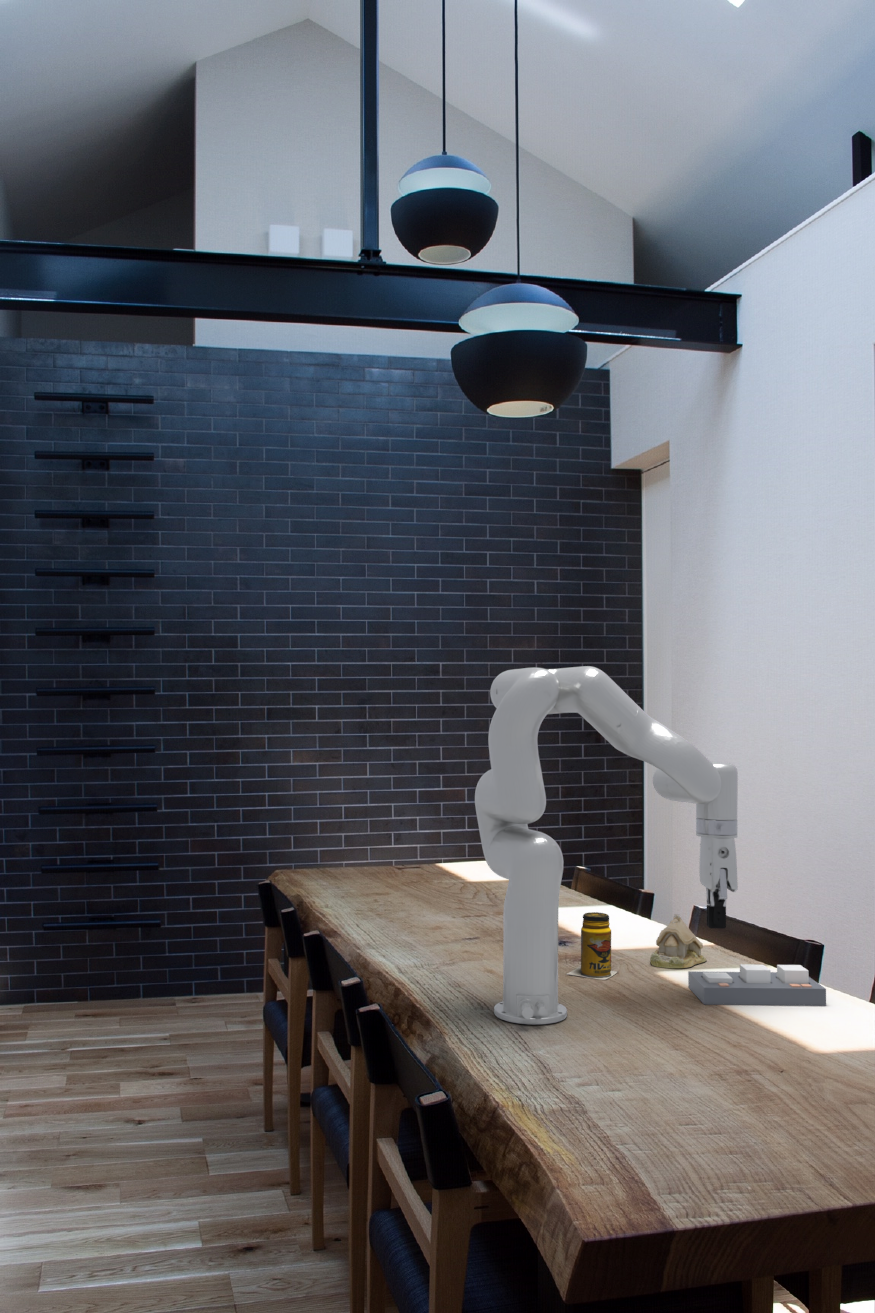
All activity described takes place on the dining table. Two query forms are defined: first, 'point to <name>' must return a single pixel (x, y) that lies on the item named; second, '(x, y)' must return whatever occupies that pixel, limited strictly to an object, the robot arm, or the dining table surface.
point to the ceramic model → (677, 946)
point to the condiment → (595, 947)
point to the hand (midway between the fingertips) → (716, 927)
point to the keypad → (756, 991)
